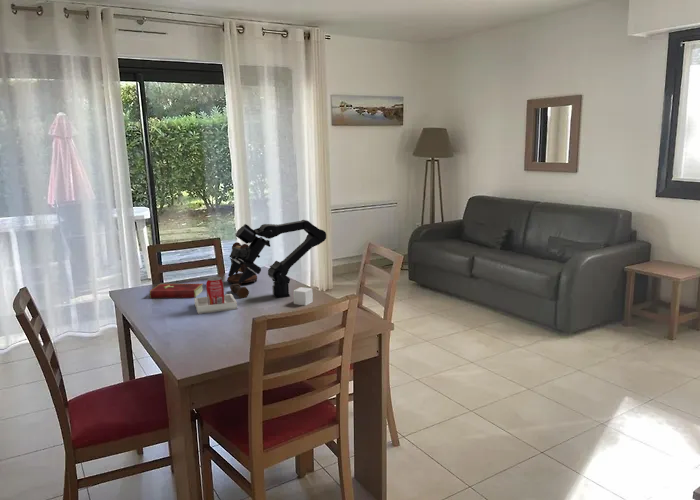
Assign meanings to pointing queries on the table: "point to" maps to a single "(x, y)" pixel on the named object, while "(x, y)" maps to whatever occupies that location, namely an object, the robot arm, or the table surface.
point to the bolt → (239, 290)
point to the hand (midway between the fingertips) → (233, 279)
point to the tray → (203, 305)
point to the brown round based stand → (236, 276)
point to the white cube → (303, 296)
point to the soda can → (215, 290)
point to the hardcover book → (176, 291)
